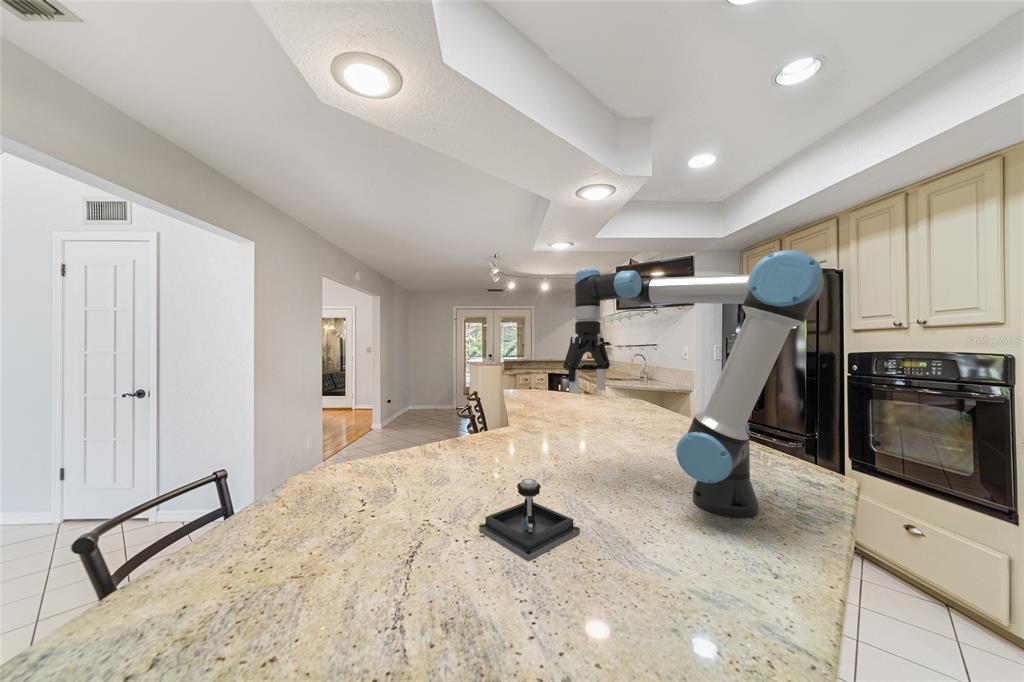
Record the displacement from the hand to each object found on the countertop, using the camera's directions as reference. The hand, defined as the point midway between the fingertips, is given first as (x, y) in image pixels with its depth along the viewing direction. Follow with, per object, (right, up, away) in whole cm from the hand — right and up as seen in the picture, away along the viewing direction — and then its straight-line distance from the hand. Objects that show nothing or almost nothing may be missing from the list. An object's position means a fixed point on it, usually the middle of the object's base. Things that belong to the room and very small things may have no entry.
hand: (588, 391), depth 112 cm
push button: (-19, -27, -28) cm, 44 cm away
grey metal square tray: (-19, -28, -28) cm, 44 cm away
